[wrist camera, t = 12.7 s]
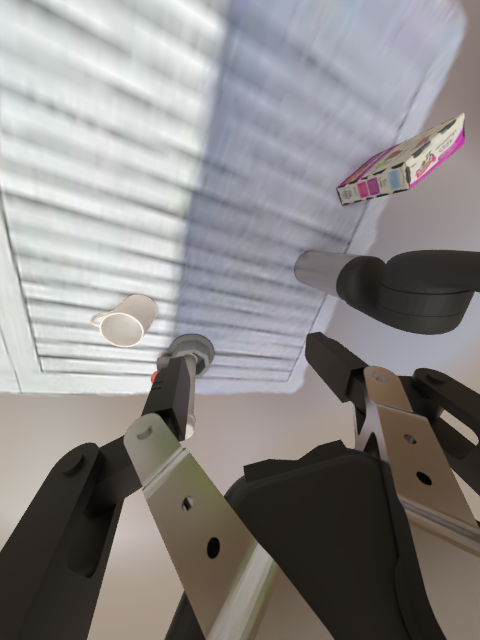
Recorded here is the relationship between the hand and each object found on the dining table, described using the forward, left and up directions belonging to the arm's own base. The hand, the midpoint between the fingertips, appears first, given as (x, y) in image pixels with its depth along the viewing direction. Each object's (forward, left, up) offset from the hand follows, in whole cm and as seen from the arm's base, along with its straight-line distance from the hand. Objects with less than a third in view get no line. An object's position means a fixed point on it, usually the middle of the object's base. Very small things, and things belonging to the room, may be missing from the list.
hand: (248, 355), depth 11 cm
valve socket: (+12, +25, -38) cm, 47 cm away
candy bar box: (-39, -18, -38) cm, 57 cm away
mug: (+22, +8, -38) cm, 45 cm away
